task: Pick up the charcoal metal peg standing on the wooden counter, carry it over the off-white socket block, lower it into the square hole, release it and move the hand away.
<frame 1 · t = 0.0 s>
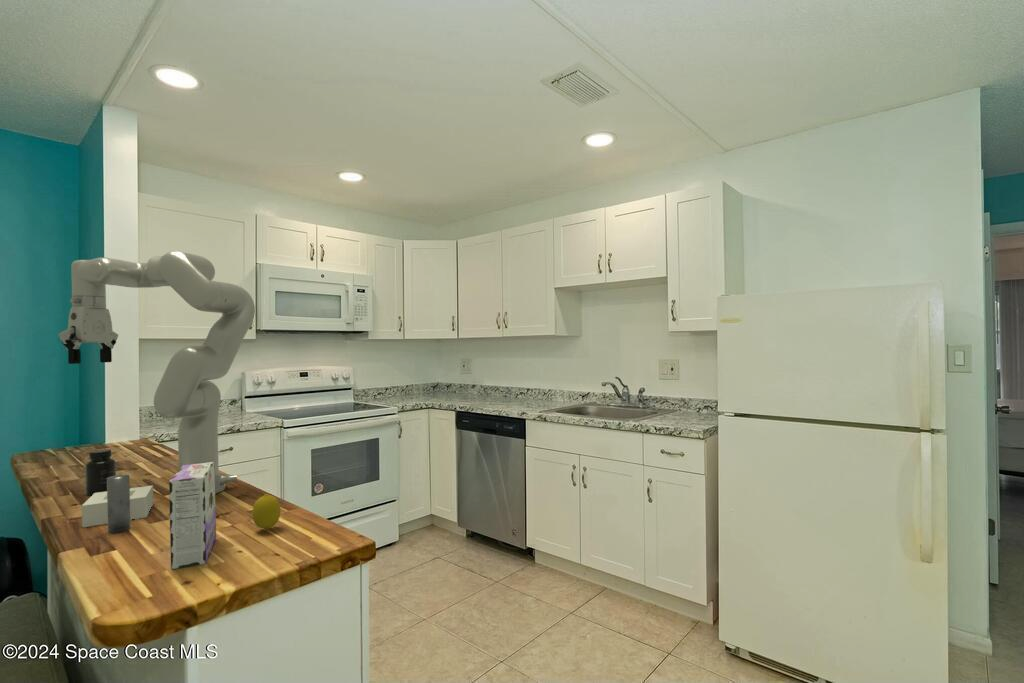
hand: (90, 362, 146), 37 cm above the counter, tool pointing down, fingers open, 9 cm apart
supplement bottle: (101, 493, 145), on the counter
lemon: (267, 531, 111), on the counter
peg: (119, 530, 114), on the counter
socket block: (120, 515, 124), on the counter
candy box: (195, 554, 99), on the counter
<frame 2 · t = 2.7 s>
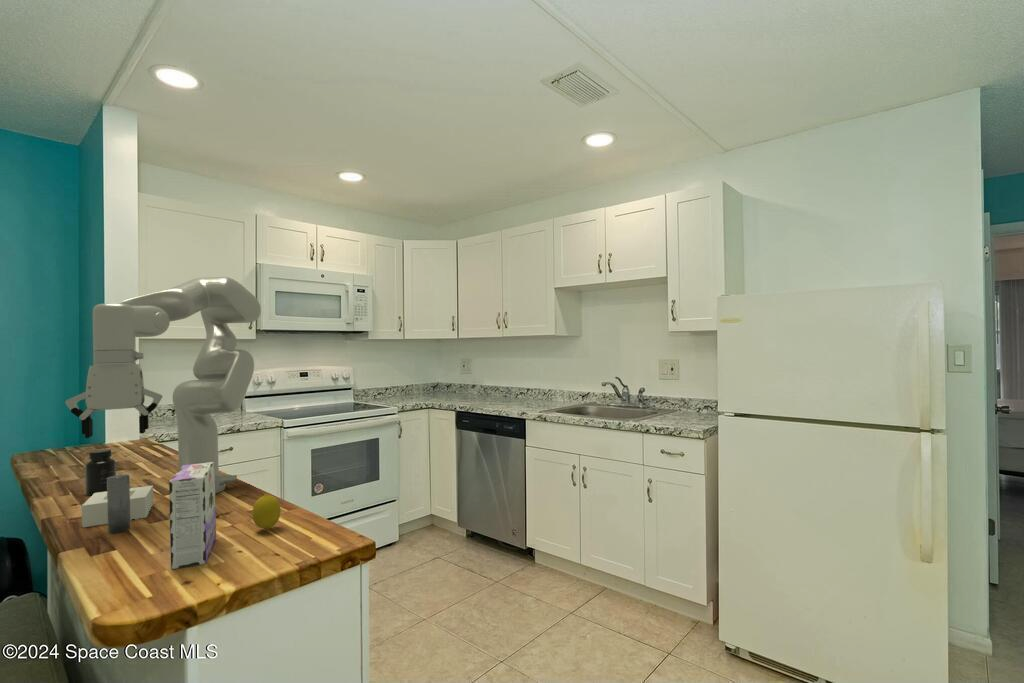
hand: (116, 434, 114), 21 cm above the counter, tool pointing down, fingers open, 9 cm apart
nothing on the counter moved.
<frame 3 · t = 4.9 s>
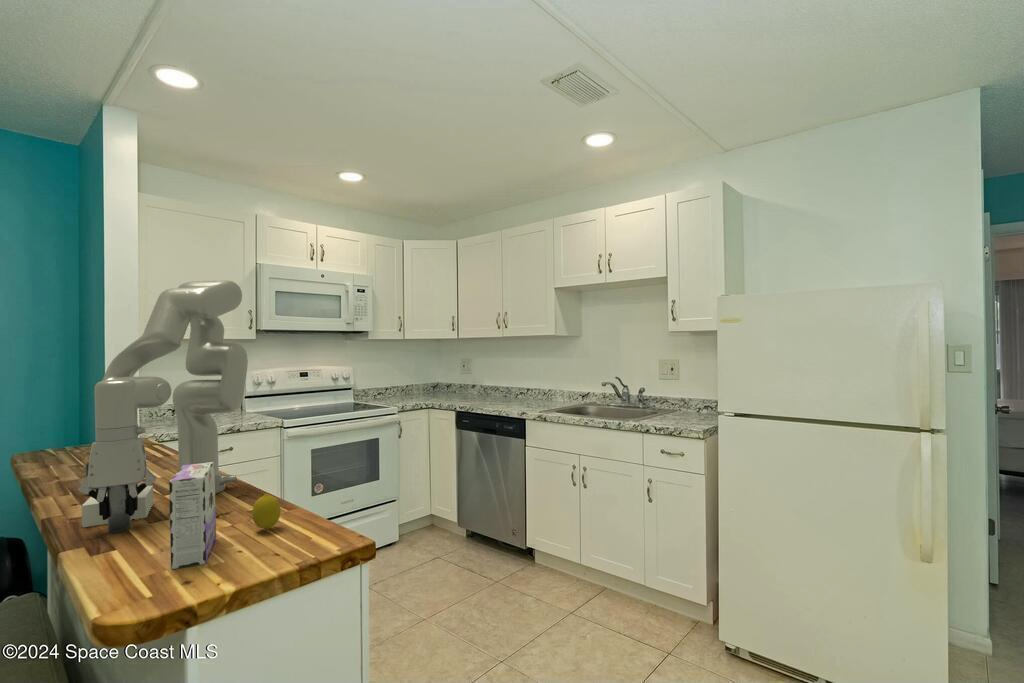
hand: (119, 515, 114), 3 cm above the counter, tool pointing down, fingers closed on peg, 4 cm apart
peg: (119, 530, 114), on the counter, touching gripper
everything else where it was.
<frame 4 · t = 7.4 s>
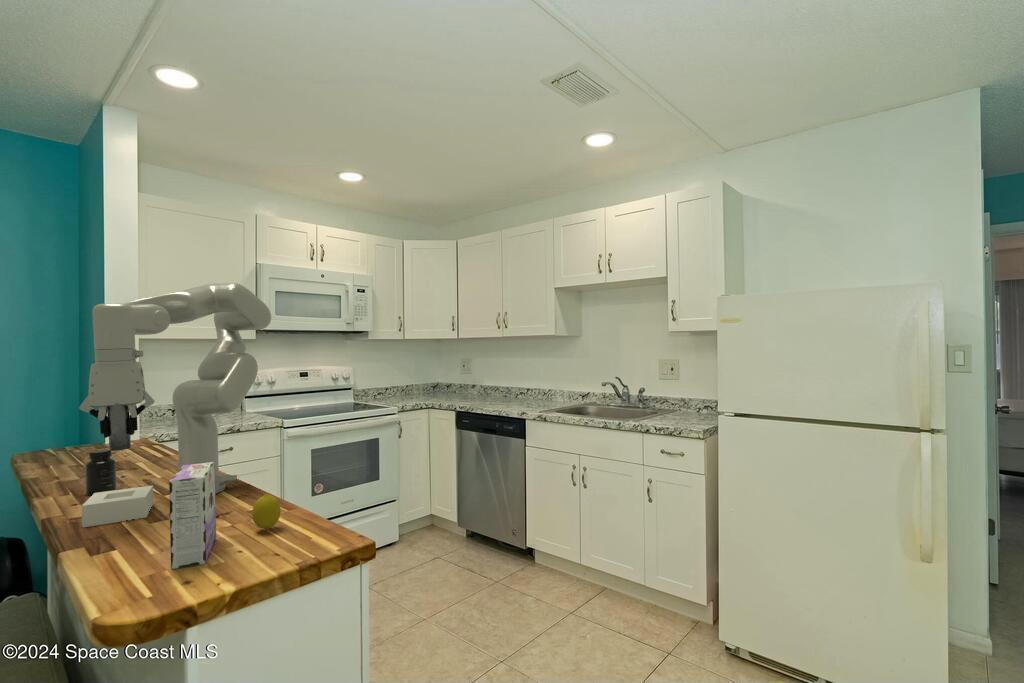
hand: (119, 434, 118), 21 cm above the counter, tool pointing down, fingers closed on peg, 4 cm apart
peg: (120, 448, 118), point 17 cm above the counter, touching gripper
everything else where it was.
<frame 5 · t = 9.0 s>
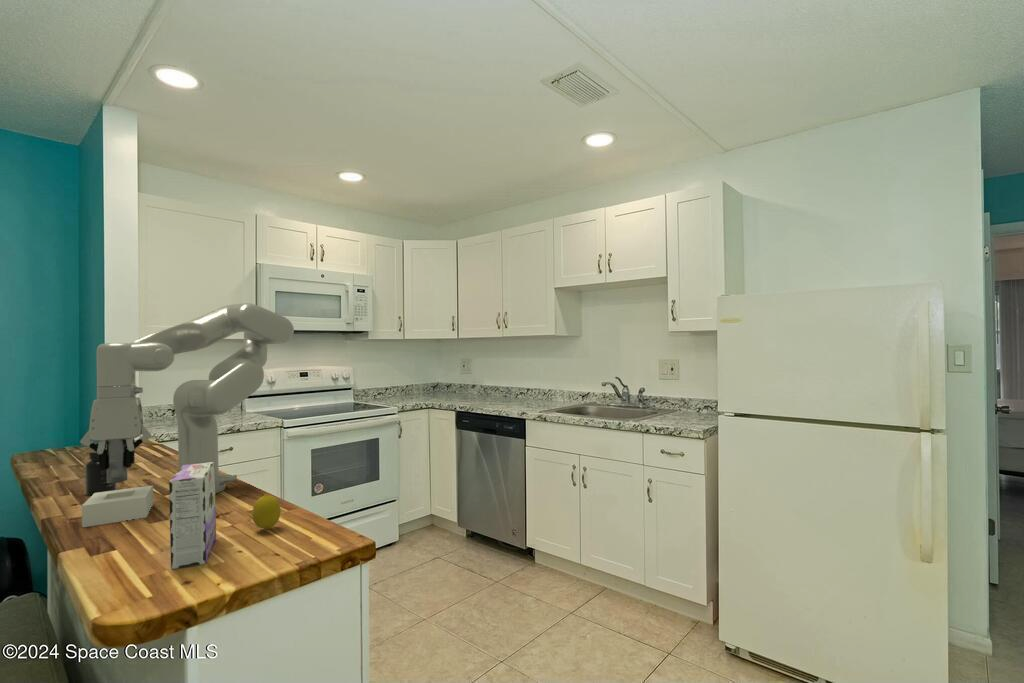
hand: (117, 467, 124), 12 cm above the counter, tool pointing down, fingers closed on peg, 4 cm apart
peg: (117, 480, 124), point 9 cm above the counter, touching gripper
everything else where it was.
when the fingers open (7 cm above the counter, at t = 10.2 s): peg drops 2 cm, resting on socket block.
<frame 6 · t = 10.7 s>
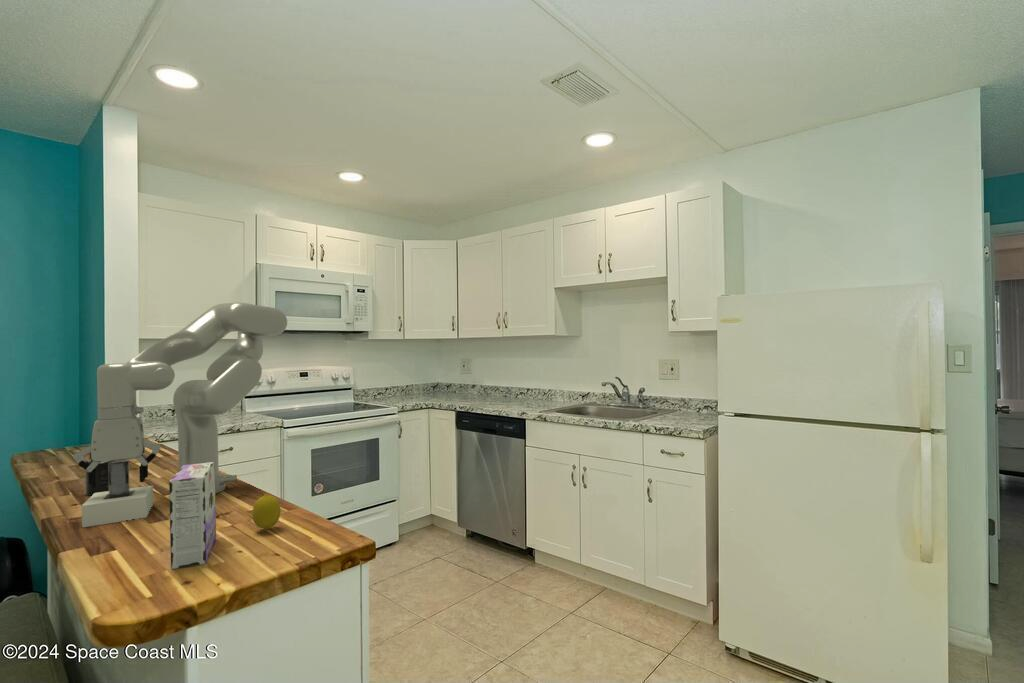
hand: (119, 483, 124), 8 cm above the counter, tool pointing down, fingers open, 9 cm apart
peg: (119, 510, 124), point 1 cm above the counter, touching socket block
everything else where it was.
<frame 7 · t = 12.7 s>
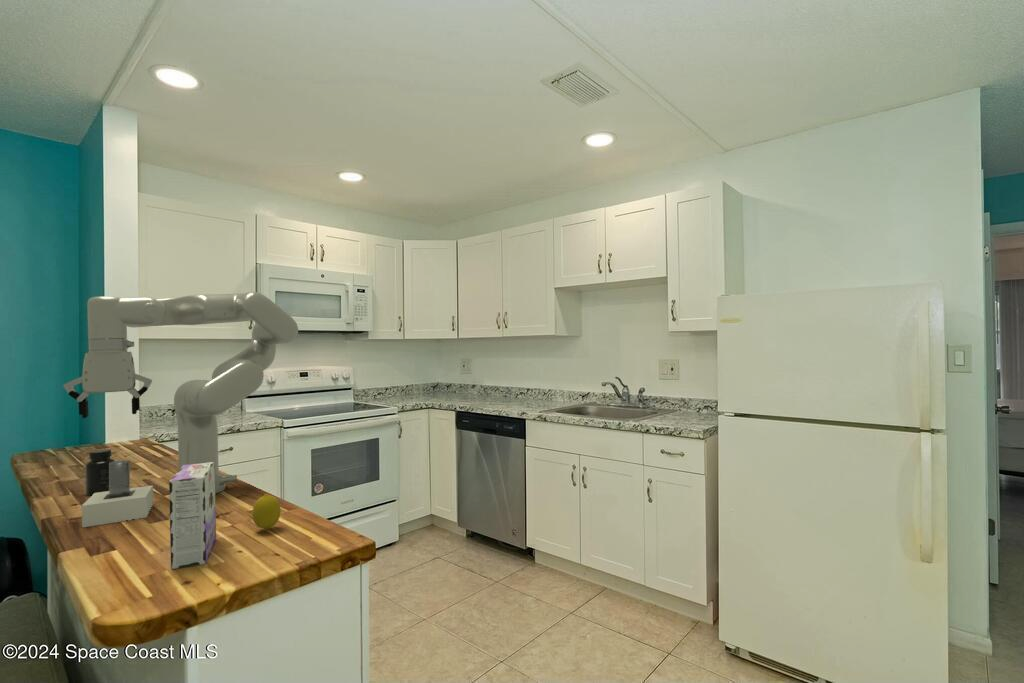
hand: (110, 415, 126), 24 cm above the counter, tool pointing down, fingers open, 9 cm apart
nothing on the counter moved.
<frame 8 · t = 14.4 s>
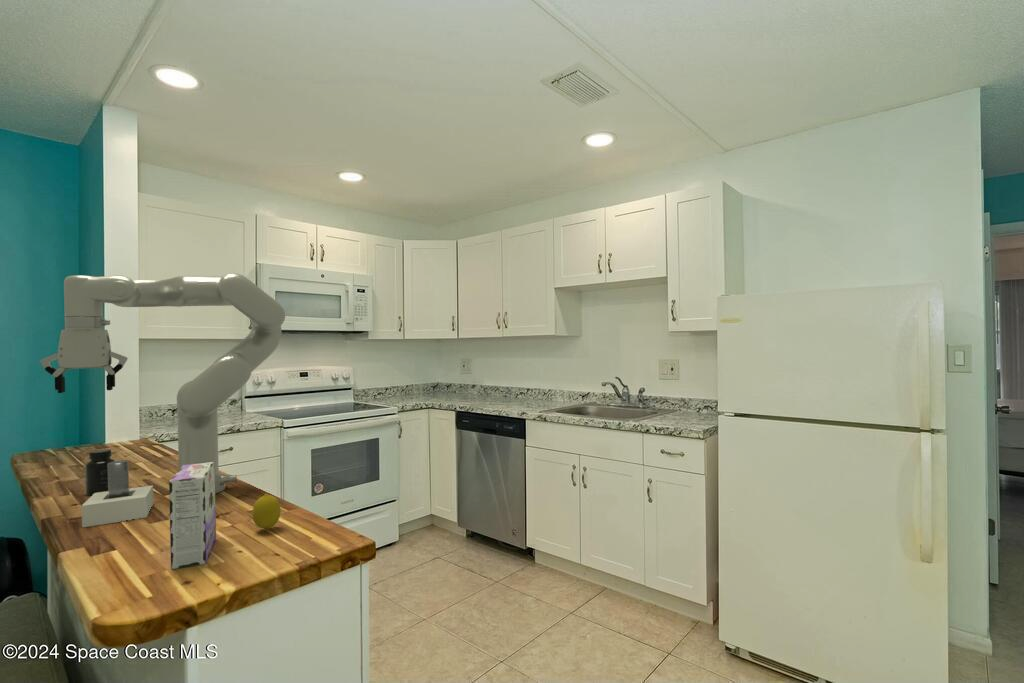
hand: (86, 391, 129), 30 cm above the counter, tool pointing down, fingers open, 9 cm apart
nothing on the counter moved.
at the end: peg 0.0 cm off-centre on the socket block, point 1.1 cm above the socket block's base; peg tilted 2°; the gripper is holding nothing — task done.
